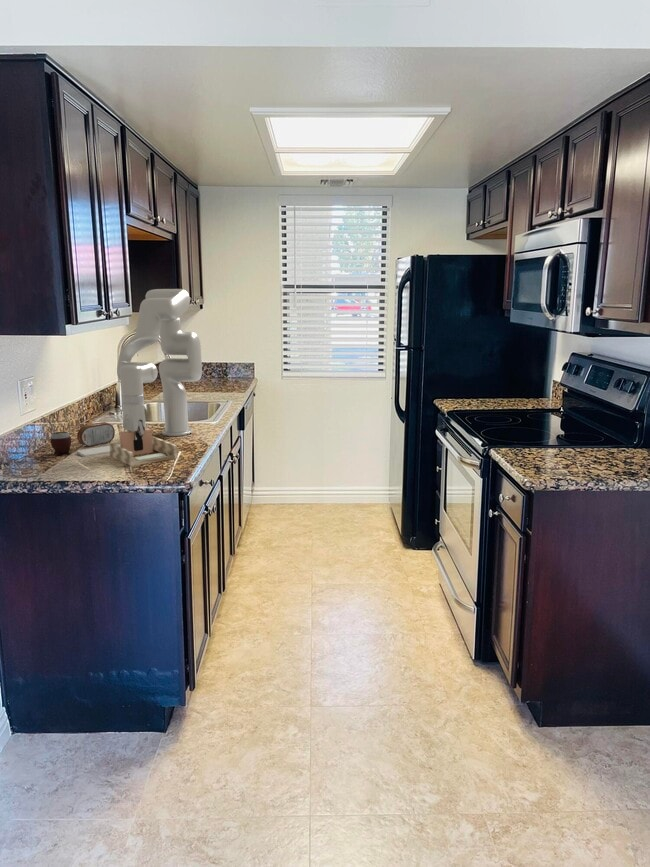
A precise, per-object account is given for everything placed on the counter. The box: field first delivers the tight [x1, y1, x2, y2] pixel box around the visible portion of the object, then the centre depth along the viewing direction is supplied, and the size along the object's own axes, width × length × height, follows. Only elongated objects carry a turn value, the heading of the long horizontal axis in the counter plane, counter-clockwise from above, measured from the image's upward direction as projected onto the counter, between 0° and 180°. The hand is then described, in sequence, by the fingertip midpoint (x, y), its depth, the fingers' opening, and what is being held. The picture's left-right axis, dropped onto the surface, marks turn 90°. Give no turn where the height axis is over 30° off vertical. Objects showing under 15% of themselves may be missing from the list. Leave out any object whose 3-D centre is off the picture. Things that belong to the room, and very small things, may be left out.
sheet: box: [118, 427, 154, 457], centre depth 225 cm, size 2×11×9 cm, turn 129°
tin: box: [76, 421, 116, 447], centre depth 242 cm, size 15×3×8 cm, turn 141°
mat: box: [76, 443, 120, 458], centre depth 233 cm, size 9×22×1 cm, turn 129°
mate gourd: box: [40, 415, 72, 457], centre depth 226 cm, size 8×8×15 cm
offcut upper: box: [134, 452, 167, 461], centre depth 217 cm, size 4×10×1 cm, turn 130°
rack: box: [108, 436, 178, 467], centre depth 221 cm, size 19×17×5 cm
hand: (137, 449), depth 225 cm, fingers closed on sheet, 2 cm apart
